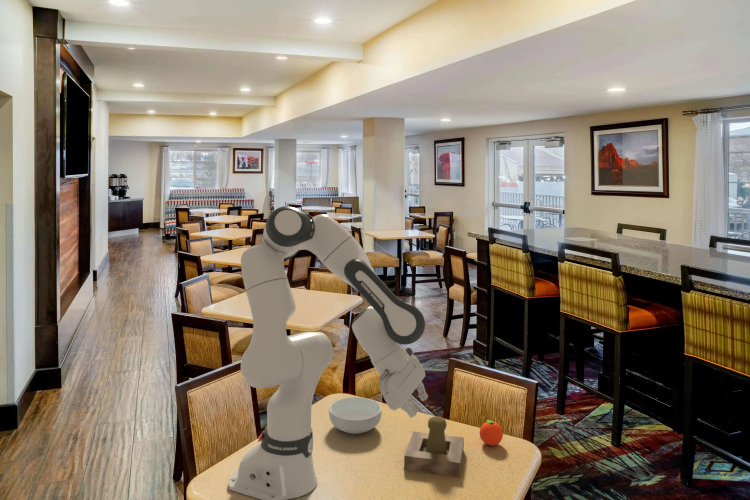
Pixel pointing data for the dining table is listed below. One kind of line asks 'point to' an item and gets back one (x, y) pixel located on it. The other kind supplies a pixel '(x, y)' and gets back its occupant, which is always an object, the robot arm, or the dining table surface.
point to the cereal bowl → (355, 414)
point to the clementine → (491, 433)
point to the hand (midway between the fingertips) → (419, 407)
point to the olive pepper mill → (436, 435)
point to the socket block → (434, 456)
